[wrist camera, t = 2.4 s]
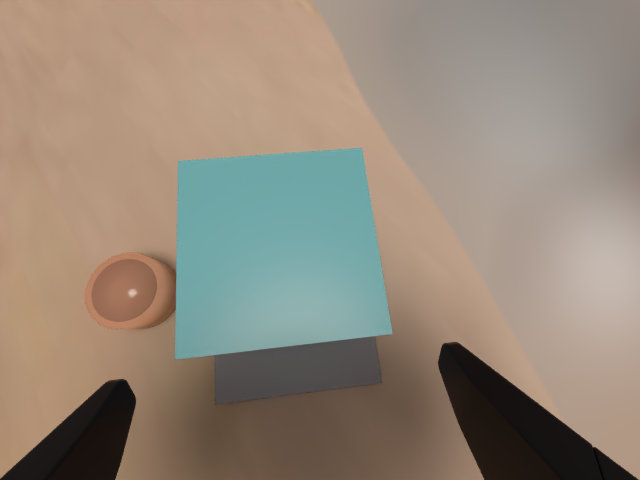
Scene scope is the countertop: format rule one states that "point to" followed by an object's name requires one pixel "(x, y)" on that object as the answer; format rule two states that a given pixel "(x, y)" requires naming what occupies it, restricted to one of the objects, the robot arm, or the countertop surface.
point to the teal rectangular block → (276, 253)
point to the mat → (296, 369)
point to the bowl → (131, 292)
